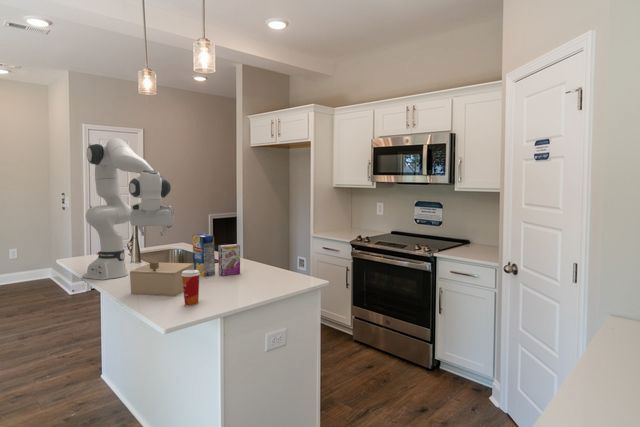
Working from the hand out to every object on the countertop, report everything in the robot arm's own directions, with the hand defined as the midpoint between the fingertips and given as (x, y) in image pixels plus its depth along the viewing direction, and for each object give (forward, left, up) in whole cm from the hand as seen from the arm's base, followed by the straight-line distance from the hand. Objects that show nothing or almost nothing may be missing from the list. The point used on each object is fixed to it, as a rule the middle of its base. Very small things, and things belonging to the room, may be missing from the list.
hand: (153, 235), depth 192 cm
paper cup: (+23, -11, -28) cm, 38 cm away
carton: (0, +8, -27) cm, 28 cm away
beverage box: (+7, +39, -28) cm, 48 cm away
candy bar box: (+21, +41, -28) cm, 54 cm away
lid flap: (0, +8, -17) cm, 19 cm away
